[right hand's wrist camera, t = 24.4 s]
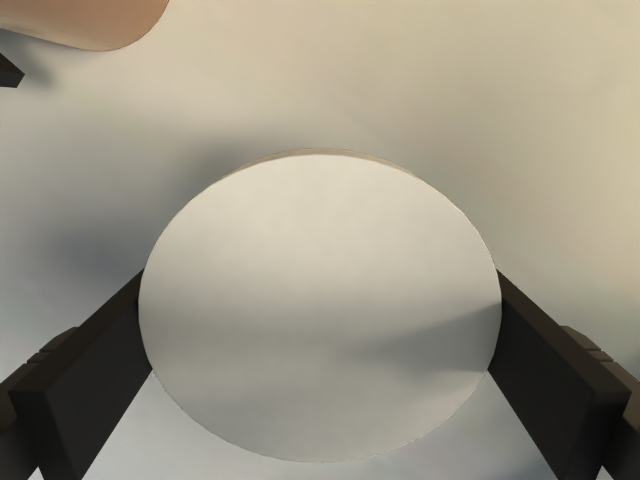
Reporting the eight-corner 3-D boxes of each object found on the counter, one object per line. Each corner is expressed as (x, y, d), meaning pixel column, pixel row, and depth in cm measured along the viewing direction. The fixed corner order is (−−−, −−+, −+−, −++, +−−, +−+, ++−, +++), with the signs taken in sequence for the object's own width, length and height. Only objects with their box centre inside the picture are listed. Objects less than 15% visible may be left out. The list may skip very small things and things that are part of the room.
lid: (455, 99, 10) (479, 97, 8) (495, 393, 13) (516, 428, 12) (100, 205, 11) (65, 220, 9) (230, 449, 14) (220, 487, 13)
